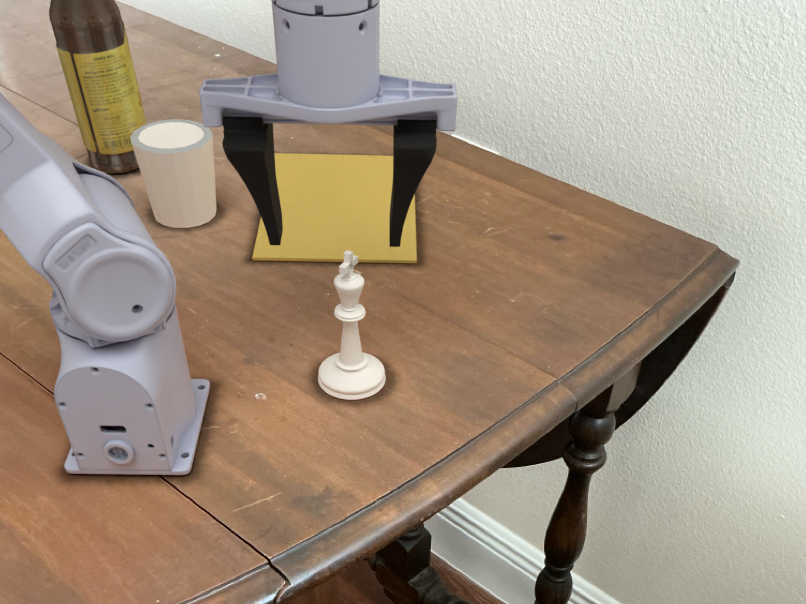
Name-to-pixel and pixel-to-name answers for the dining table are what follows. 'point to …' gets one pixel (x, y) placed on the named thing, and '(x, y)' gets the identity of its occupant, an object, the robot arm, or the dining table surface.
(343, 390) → the chess piece
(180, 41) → the dining table surface
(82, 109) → the sauce bottle
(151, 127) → the cream cylinder
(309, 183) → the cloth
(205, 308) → the dining table surface
